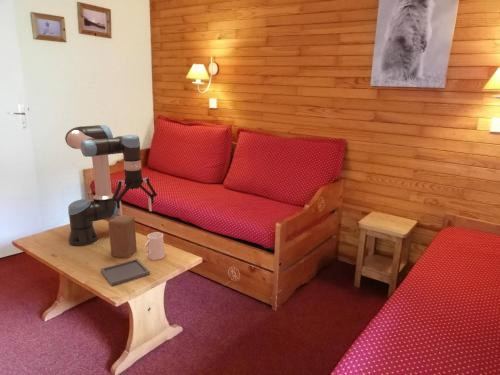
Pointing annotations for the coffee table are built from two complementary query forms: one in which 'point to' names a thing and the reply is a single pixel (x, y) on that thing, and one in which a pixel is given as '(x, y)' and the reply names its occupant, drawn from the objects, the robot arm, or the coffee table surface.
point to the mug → (155, 246)
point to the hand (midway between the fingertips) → (135, 212)
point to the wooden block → (122, 236)
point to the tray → (124, 272)
